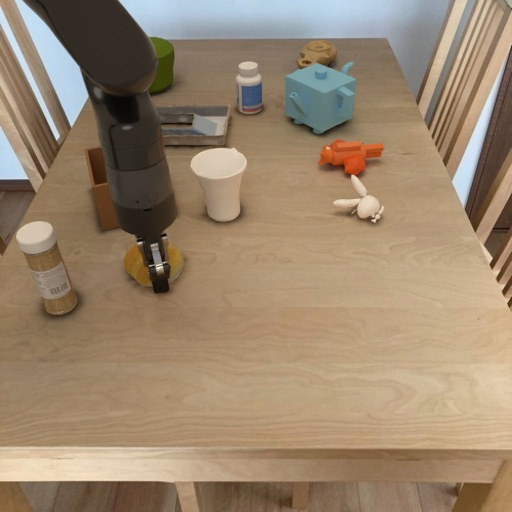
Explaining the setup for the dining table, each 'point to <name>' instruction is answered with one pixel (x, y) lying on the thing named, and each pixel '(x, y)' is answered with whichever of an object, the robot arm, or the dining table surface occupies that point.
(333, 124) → the teapot
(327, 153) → the orange toy bird
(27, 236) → the sprinkles bottle
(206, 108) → the grey flat rectangular tray
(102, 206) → the box
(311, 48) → the oil lamp
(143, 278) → the bread roll
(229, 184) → the cup
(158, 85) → the green piece
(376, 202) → the rabbit figurine
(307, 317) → the dining table surface
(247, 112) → the pill bottle
